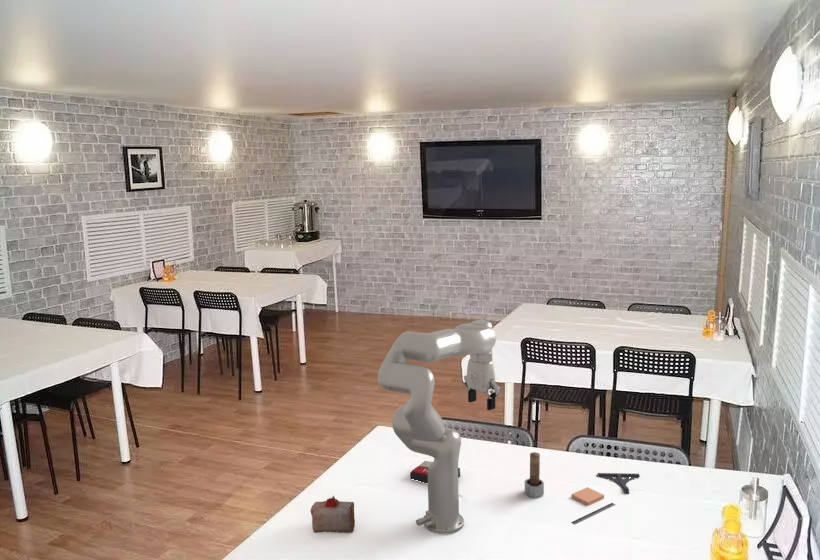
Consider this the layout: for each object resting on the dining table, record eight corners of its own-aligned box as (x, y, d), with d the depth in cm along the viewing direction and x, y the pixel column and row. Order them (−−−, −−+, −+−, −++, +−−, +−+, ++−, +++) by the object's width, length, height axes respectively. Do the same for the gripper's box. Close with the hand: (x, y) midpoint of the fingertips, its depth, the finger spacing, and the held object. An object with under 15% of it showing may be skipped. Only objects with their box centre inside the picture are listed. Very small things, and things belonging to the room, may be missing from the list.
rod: (534, 496, 216) (535, 457, 214) (527, 492, 219) (528, 454, 216) (541, 493, 218) (541, 454, 216) (534, 490, 220) (534, 451, 218)
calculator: (424, 459, 242) (460, 465, 234) (425, 470, 242) (460, 477, 234) (409, 470, 233) (445, 477, 225) (410, 482, 233) (446, 489, 225)
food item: (309, 535, 198) (307, 505, 197) (314, 521, 206) (313, 492, 205) (352, 535, 197) (351, 505, 196) (356, 522, 205) (355, 493, 203)
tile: (588, 502, 209) (604, 495, 214) (571, 494, 215) (587, 487, 219) (588, 506, 209) (604, 499, 214) (571, 498, 215) (587, 491, 219)
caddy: (534, 502, 214) (534, 488, 213) (521, 495, 219) (521, 481, 218) (547, 496, 218) (547, 483, 217) (533, 490, 223) (533, 476, 222)
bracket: (605, 496, 218) (605, 488, 218) (597, 476, 233) (597, 469, 232) (649, 497, 217) (649, 490, 216) (638, 477, 231) (638, 470, 231)
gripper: (456, 353, 222) (457, 401, 225) (490, 364, 208) (490, 414, 211) (472, 349, 227) (473, 396, 229) (507, 360, 213) (507, 409, 215)
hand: (481, 405), depth 220 cm, fingers open, 9 cm apart
